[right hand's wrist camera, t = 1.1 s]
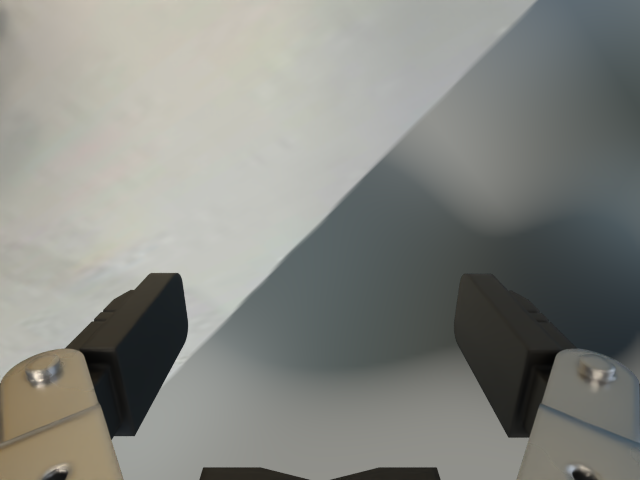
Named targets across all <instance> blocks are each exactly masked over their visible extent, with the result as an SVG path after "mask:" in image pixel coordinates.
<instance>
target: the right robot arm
mask: <svg viewBox="0 0 640 480" xmlns="http://www.w3.org/2000/svg"><path fill="white" fill-rule="evenodd" d="M187 333H188V318H187V311H186V304H185V297H184V290H183V283H182V278H181V276H180V274H178V273H150V274H149V275H148V276H147V277H146V278H145V279H144V280H143V281H142V282H141V283H140V285H139V286H138V287H137V288H136V289H135V290H130V291H128V292H126V293H124V294H123V295H121V296H119V297H117V298H115V299H114V300H113V301H112V302H111V303H110V304H109V305H108V306H107V307H106V308H105V309H104V310H103V312H101V313H100V314H99V315H98V316H97V317H96V318H95V319H94V322H91V323H90V324H89V325H88V326H87V327H86V328H85V329H84V330H83V331H82V332H81V333H80V334H79V335H78V336H77V337H76V338H75V339H74V340H73V341H72V342H71V343H70V344H69V345H68V346H67V347H66V348H65V349H56V350H51V351H47V352H43V353H40V354H37V355H34V356H32V357H30V358H28V359H26V360H24V361H22V362H20V363H19V364H17V365H16V366H14V367H13V368H12V369H10V370H9V371H8V372H7V373H6V375H5V376H4V377H3V379H2V381H1V383H0V480H124V479H123V476H122V473H121V470H120V467H119V463H118V460H117V457H116V454H115V450H114V447H113V444H112V441H111V440H112V438H113V437H114V436H135V434H136V432H137V431H138V429H139V427H140V425H141V423H142V421H143V420H144V418H145V416H146V414H147V412H148V410H149V408H150V407H151V405H152V403H153V401H154V399H155V397H156V395H157V394H158V392H159V390H160V388H161V386H162V384H163V382H164V381H165V379H166V377H167V375H168V373H169V371H170V369H171V368H172V366H173V364H174V362H175V360H176V358H177V356H178V355H179V353H180V351H181V349H182V347H183V345H184V343H185V341H186V338H187ZM454 333H455V338H456V342H457V344H458V346H459V348H460V349H461V351H462V353H463V355H464V357H465V359H466V361H467V362H468V364H469V366H470V368H471V370H472V372H473V373H474V375H475V377H476V379H477V381H478V382H479V384H480V386H481V388H482V390H483V392H484V394H485V395H486V397H487V399H488V401H489V403H490V405H491V406H492V408H493V410H494V412H495V414H496V415H497V417H498V419H499V421H500V423H501V425H502V426H503V428H504V430H505V432H506V434H507V436H508V437H529V441H528V444H527V447H526V450H525V454H524V457H523V460H522V463H521V466H520V470H519V473H518V476H517V479H516V480H640V384H639V381H638V379H637V377H636V376H635V375H634V373H633V372H632V371H631V370H630V369H628V368H627V367H626V366H624V365H623V364H621V363H620V362H618V361H616V360H614V359H612V358H610V357H608V356H605V355H603V354H600V353H597V352H593V351H589V350H584V349H577V348H576V347H575V346H574V345H573V344H572V343H571V342H570V341H569V340H568V339H567V338H566V337H565V336H564V335H563V334H562V333H561V332H560V331H559V330H558V329H557V328H556V327H555V326H554V325H553V324H552V323H551V322H549V320H548V319H547V318H546V317H545V316H544V315H543V314H542V313H540V312H539V310H538V309H537V308H536V307H535V306H534V305H533V304H532V303H531V302H530V301H529V300H528V299H526V298H524V297H522V296H520V295H519V294H517V293H515V292H513V291H508V290H507V289H506V288H505V287H504V286H503V285H502V284H501V283H500V282H499V280H498V279H497V278H496V277H495V276H494V275H493V274H463V275H462V277H461V279H460V284H459V291H458V298H457V305H456V312H455V320H454ZM200 480H308V479H304V478H300V477H296V476H292V475H288V474H284V473H280V472H276V471H272V470H268V469H264V468H203V470H202V473H201V477H200ZM332 480H440V477H439V474H438V470H437V468H376V469H372V470H368V471H364V472H360V473H356V474H352V475H348V476H344V477H340V478H336V479H332Z"/></svg>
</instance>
